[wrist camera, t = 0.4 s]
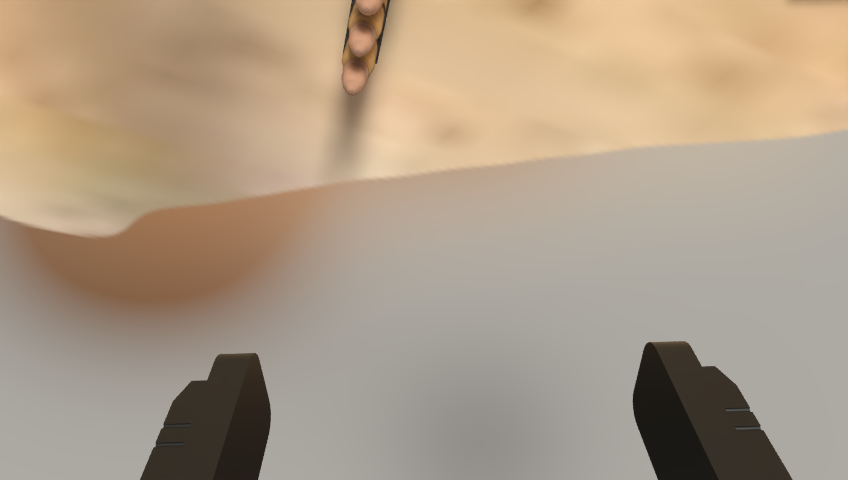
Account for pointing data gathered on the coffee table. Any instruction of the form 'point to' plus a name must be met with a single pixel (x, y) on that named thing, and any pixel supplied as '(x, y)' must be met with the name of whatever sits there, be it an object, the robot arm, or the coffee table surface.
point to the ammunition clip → (362, 42)
